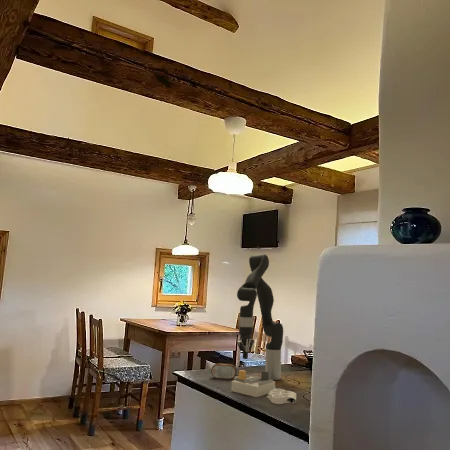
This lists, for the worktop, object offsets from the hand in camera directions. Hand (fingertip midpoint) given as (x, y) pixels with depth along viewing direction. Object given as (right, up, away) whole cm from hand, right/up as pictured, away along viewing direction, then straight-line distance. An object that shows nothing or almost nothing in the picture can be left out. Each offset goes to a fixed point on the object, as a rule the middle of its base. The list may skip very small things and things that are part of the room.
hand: (245, 358), depth 238 cm
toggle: (+10, -12, -2) cm, 16 cm away
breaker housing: (+4, -16, -3) cm, 17 cm away
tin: (-11, -19, +24) cm, 33 cm away
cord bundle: (+11, -18, +7) cm, 22 cm away
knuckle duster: (+17, -16, -16) cm, 28 cm away
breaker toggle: (-2, -11, -2) cm, 11 cm away
